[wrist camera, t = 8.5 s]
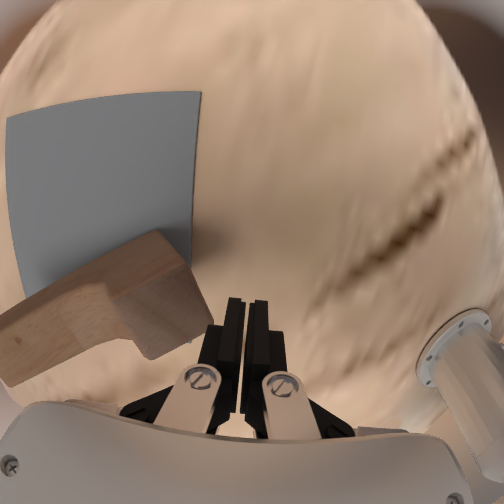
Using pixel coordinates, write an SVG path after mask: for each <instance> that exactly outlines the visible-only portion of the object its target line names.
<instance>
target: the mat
mask: <svg viewBox="0 0 504 504" xmlns="http://www.w3.org/2000/svg"><path fill="white" fill-rule="evenodd" d="M200 101H201V92H197V91H181V92H151V93H136V94H125V95H115V96H107V97H99V98H92V99H86V100H80V101H74V102H69V103H64V104H59V105H54V106H50V107H45V108H41V109H37V110H33V111H30V112H26V113H22V114H19V115H15V116H12V117H9V118H7V123H6V143H5V168H6V189H7V202H8V211H9V219H10V227H11V233H12V239H13V245H14V250H15V255H16V260H17V264H18V269H19V273H20V277H21V281H22V285H23V289H24V292H25V296H26V299H27V298H28V297H30V296H32V295H33V294H35V293H37V292H38V291H40V290H42V289H43V288H45V287H47V286H49V285H50V284H52V283H54V282H55V281H57V280H59V279H61V278H62V277H64V276H66V275H68V274H70V273H71V272H73V271H75V270H77V269H79V268H80V267H82V266H84V265H86V264H88V263H89V262H91V261H93V260H95V259H97V258H99V257H101V256H103V255H104V254H106V253H108V252H110V251H112V250H114V249H116V248H118V247H120V246H122V245H124V244H126V243H128V242H130V241H132V240H134V239H136V238H138V237H140V236H142V235H144V234H146V233H149V232H151V231H153V230H158V231H159V232H160V233H161V234H162V235H163V236H164V237H165V239H166V240H167V241H168V242H169V243H170V244H171V246H172V247H173V248H174V249H175V250H176V251H177V252H178V253H179V255H180V256H181V257H182V258H183V259H184V260H185V261H186V262H187V263H188V265H189V266H190V269H191V237H192V208H193V187H194V171H195V156H196V143H197V131H198V120H199V110H200ZM191 342H192V340H191V341H189V342H187V343H191Z"/></svg>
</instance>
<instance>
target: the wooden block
mask: <svg viewBox="0 0 504 504" xmlns="http://www.w3.org/2000/svg"><path fill="white" fill-rule="evenodd" d="M208 324H211V325H214V319H213V317H212V315H211V313H210V311H209V309H208V306H207V304H206V302H205V300H204V298H203V296H202V293H201V291H200V289H199V287H198V285H197V282H196V280H195V278H194V276H193V273H192V271H191V269H190V266H189V265H188V263H187V262H186V261H185V260H184V259H183V258H182V257H181V256H180V255H179V253H178V252H177V251H176V250H175V249H174V248H173V247H172V246H171V244H170V243H169V242H168V241H167V240H166V239H165V237H164V236H163V235H162V234H161V233H160V232H159V231H158V230H153V231H151V232H149V233H146V234H144V235H142V236H140V237H138V238H136V239H134V240H132V241H130V242H128V243H126V244H124V245H122V246H120V247H118V248H116V249H114V250H112V251H110V252H108V253H106V254H104V255H103V256H101V257H99V258H97V259H95V260H93V261H91V262H89V263H88V264H86V265H84V266H82V267H80V268H79V269H77V270H75V271H73V272H71V273H70V274H68V275H66V276H64V277H62V278H61V279H59V280H57V281H55V282H54V283H52V284H50V285H49V286H47V287H45V288H43V289H42V290H40V291H38V292H37V293H35V294H33V295H32V296H30V297H28V298H27V299H25V300H23V301H22V302H20V303H19V304H17V305H15V306H14V307H12V308H11V309H9V310H7V311H6V312H4V313H3V314H1V315H0V378H1V379H2V380H3V381H4V383H5V384H6V385H7V386H8V387H11V388H12V387H14V386H16V385H18V384H20V383H22V382H24V381H26V380H28V379H30V378H32V377H34V376H36V375H38V374H40V373H42V372H44V371H46V370H48V369H50V368H52V367H54V366H56V365H58V364H60V363H62V362H64V361H66V360H68V359H70V358H72V357H74V356H76V355H78V354H80V353H82V352H84V351H86V350H88V349H90V348H92V347H93V346H95V345H98V344H101V343H104V342H107V341H111V340H114V339H117V338H120V339H128V340H133V341H134V343H135V344H136V346H137V347H138V349H139V350H140V352H141V353H142V354H143V356H144V357H146V358H147V359H149V360H154V359H156V358H158V357H160V356H162V355H164V354H166V353H168V352H170V351H172V350H174V349H176V348H177V347H179V346H181V345H183V344H185V343H187V342H189V341H191V340H192V339H194V338H196V337H198V336H200V335H202V334H203V333H205V332H206V330H207V326H208Z"/></svg>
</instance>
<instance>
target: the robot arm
mask: <svg viewBox="0 0 504 504" xmlns="http://www.w3.org/2000/svg"><path fill="white" fill-rule="evenodd" d="M245 308H246V302H241V298H231V297H229V300H228V305H227V310H226V315H225V320H224V326H219V325H211V324H208V326H207V330H206V333H205V337H204V341H203V344H202V348H201V352H200V356H199V359H198V363H197V364H193V365H190V366H188V367H186V368H185V369H184V370H183V371H182V372H181V373H180V375H179V377H178V379H177V381H176V383H175V384H174V385H173V386H170V387H168V388H166V389H163V390H161V391H159V392H156V393H154V394H152V395H149V396H147V397H144V398H142V399H140V400H137V401H135V402H132V403H130V404H128V405H126V406H124V407H118V404H109V403H99V402H90V401H83V400H76V399H69V400H66V401H64V402H62V401H40V402H35V403H32V404H30V405H28V406H27V407H26V408H24V409H23V410H22V411H21V412H20V413H19V415H18V416H17V417H16V418H15V419H14V421H13V422H12V423H11V425H10V426H9V428H8V429H7V431H6V432H5V434H4V435H3V437H2V439H1V441H0V504H474V501H473V498H472V495H471V492H470V489H469V486H468V483H467V480H466V478H465V475H464V473H463V471H462V468H461V466H460V464H459V462H458V460H457V458H456V456H455V454H454V453H453V451H452V450H451V448H450V447H449V446H448V444H447V443H445V442H444V441H443V440H442V439H440V438H437V437H435V436H431V435H426V434H420V433H410V432H408V431H406V430H402V429H385V428H372V427H361V426H358V427H357V429H355V428H352V427H351V426H350V425H348V424H347V423H346V422H344V421H343V420H341V419H339V418H338V417H336V416H335V415H333V414H332V413H330V412H328V411H327V410H325V409H324V408H322V407H321V406H319V405H318V404H316V403H315V402H313V401H312V400H310V399H309V398H308V397H307V395H306V392H305V389H304V386H303V383H302V382H301V380H300V379H299V378H298V377H297V376H295V375H294V374H292V373H288V372H287V363H286V353H285V344H284V334H283V331H271V330H269V324H268V301H262V300H255V303H250V307H249V316H248V325H247V334H246V343H245V352H244V365H243V378H242V391H241V404H240V413H241V414H245V421H246V422H247V423H248V424H249V425H250V426H251V427H253V436H254V439H253V438H240V437H229V436H220V435H218V432H219V428H220V425H221V424H223V423H225V422H226V421H228V420H229V418H230V413H235V412H236V403H237V393H238V383H239V373H240V363H241V353H242V341H243V330H244V319H245ZM491 330H492V322H491V319H490V317H489V316H488V315H487V314H486V313H485V312H484V311H483V310H480V309H472V310H469V311H466V312H464V313H462V314H459V315H458V316H456V317H455V318H453V319H452V320H450V321H449V322H448V323H447V324H446V325H444V326H443V327H442V328H441V329H440V330H439V331H438V332H437V333H436V334H435V336H434V337H433V338H432V339H431V340H430V342H429V343H428V344H427V346H426V347H425V349H424V351H423V352H422V354H421V356H420V358H419V361H418V364H417V368H416V375H417V377H418V379H419V381H420V383H421V384H422V385H423V386H425V387H429V388H435V387H437V389H438V390H439V392H440V394H441V396H442V397H443V399H444V401H445V403H446V404H447V406H448V408H449V410H450V411H451V414H452V415H453V417H454V419H455V421H456V423H457V425H458V427H459V429H460V431H461V433H462V435H463V437H464V439H465V441H466V443H467V445H468V447H469V449H470V451H471V453H472V455H473V457H474V460H475V462H476V464H477V466H478V468H479V470H480V472H481V473H482V474H483V475H484V476H485V477H486V478H488V479H490V480H493V481H496V482H502V483H504V344H503V343H499V344H498V343H497V342H496V341H495V340H494V338H493V337H492V336H491ZM492 504H504V496H502V497H501V498H500V499H498V500H497V501H495V502H494V503H492Z"/></svg>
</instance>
